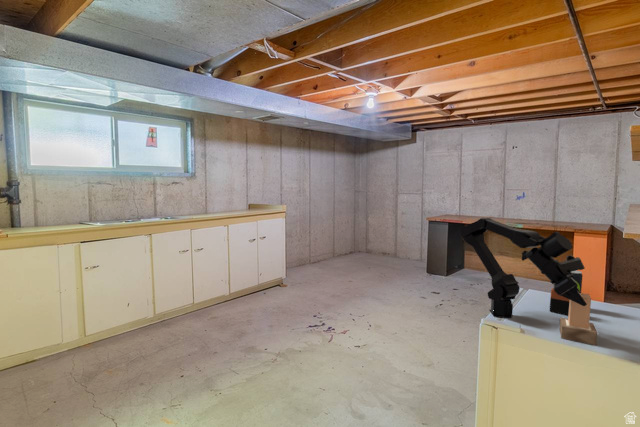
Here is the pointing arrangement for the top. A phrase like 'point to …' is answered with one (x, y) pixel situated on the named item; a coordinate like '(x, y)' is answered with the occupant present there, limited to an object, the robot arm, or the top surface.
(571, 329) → the foundation block
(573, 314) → the pillar block
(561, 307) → the battery
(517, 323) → the top surface
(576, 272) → the beverage can
